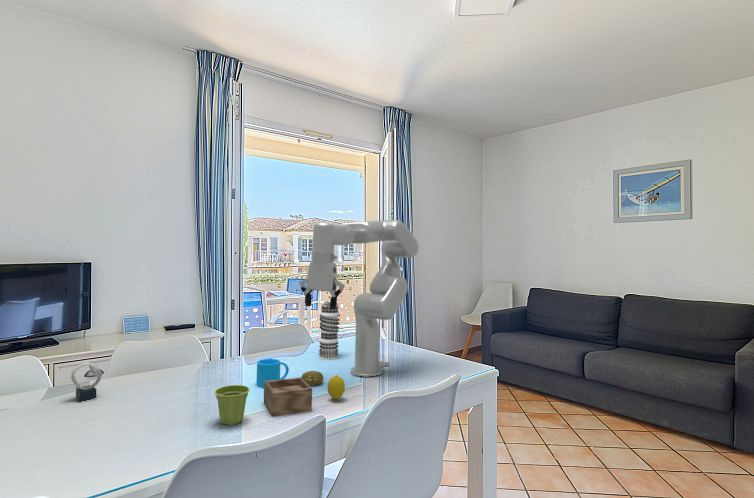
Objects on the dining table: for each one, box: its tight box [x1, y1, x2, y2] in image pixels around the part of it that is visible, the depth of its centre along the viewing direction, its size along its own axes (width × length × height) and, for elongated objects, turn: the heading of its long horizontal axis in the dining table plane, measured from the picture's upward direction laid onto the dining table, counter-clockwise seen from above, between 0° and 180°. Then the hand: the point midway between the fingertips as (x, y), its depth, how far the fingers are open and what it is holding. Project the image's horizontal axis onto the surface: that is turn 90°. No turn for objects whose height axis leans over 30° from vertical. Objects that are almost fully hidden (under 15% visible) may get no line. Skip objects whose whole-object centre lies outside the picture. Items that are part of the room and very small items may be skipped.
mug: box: [255, 358, 290, 389], centre depth 153 cm, size 12×8×8 cm
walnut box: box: [263, 376, 313, 418], centre depth 131 cm, size 12×12×7 cm
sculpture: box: [301, 370, 324, 387], centre depth 154 cm, size 8×4×8 cm
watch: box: [70, 362, 103, 403], centre depth 133 cm, size 6×8×11 cm
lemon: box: [327, 374, 346, 401], centre depth 138 cm, size 6×6×8 cm
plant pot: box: [213, 384, 251, 426], centre depth 119 cm, size 9×9×9 cm
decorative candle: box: [318, 301, 341, 361], centre depth 192 cm, size 9×9×25 cm
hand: (320, 307), depth 149 cm, fingers open, 9 cm apart
